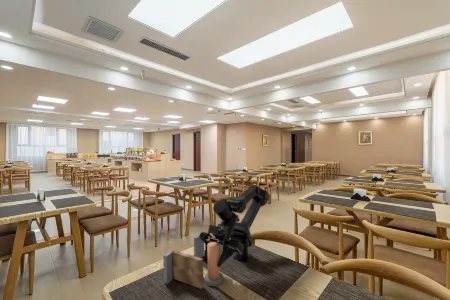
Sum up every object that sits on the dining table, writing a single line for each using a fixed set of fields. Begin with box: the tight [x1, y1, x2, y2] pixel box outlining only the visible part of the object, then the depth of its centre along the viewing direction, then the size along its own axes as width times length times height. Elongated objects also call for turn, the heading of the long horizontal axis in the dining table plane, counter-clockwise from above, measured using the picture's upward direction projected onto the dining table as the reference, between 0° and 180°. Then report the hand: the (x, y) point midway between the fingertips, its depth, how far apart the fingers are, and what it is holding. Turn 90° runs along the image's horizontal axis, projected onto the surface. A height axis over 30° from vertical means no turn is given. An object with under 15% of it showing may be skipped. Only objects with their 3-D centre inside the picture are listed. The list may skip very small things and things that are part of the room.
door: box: [169, 249, 205, 290], centre depth 79 cm, size 15×3×10 cm, turn 60°
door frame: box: [162, 233, 205, 285], centre depth 90 cm, size 24×2×10 cm, turn 150°
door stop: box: [204, 242, 224, 287], centre depth 81 cm, size 7×7×14 cm
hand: (211, 264), depth 79 cm, fingers open, 6 cm apart
